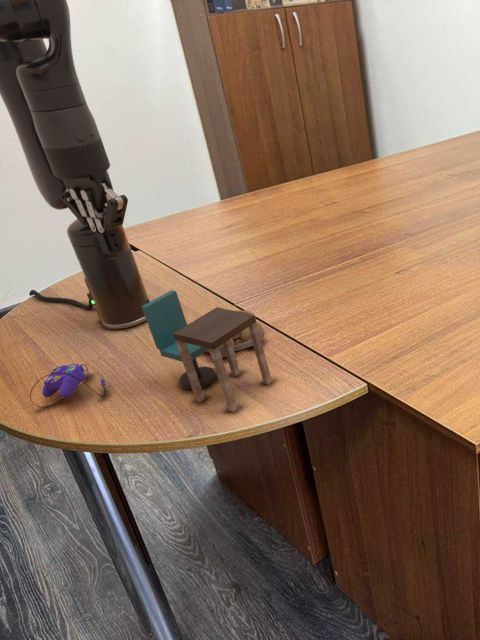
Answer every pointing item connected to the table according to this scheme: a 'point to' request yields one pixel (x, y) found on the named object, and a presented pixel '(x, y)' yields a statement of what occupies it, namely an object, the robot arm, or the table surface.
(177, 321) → the chair
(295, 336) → the table surface
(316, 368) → the table surface
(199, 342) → the desk
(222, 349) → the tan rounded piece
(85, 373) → the game controller
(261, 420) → the table surface
